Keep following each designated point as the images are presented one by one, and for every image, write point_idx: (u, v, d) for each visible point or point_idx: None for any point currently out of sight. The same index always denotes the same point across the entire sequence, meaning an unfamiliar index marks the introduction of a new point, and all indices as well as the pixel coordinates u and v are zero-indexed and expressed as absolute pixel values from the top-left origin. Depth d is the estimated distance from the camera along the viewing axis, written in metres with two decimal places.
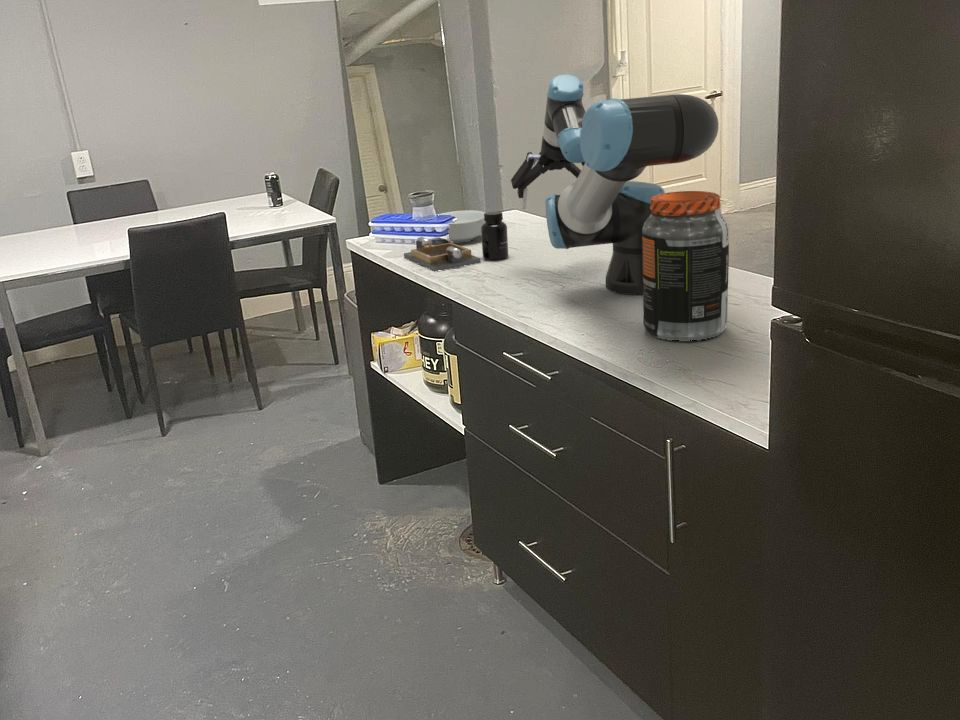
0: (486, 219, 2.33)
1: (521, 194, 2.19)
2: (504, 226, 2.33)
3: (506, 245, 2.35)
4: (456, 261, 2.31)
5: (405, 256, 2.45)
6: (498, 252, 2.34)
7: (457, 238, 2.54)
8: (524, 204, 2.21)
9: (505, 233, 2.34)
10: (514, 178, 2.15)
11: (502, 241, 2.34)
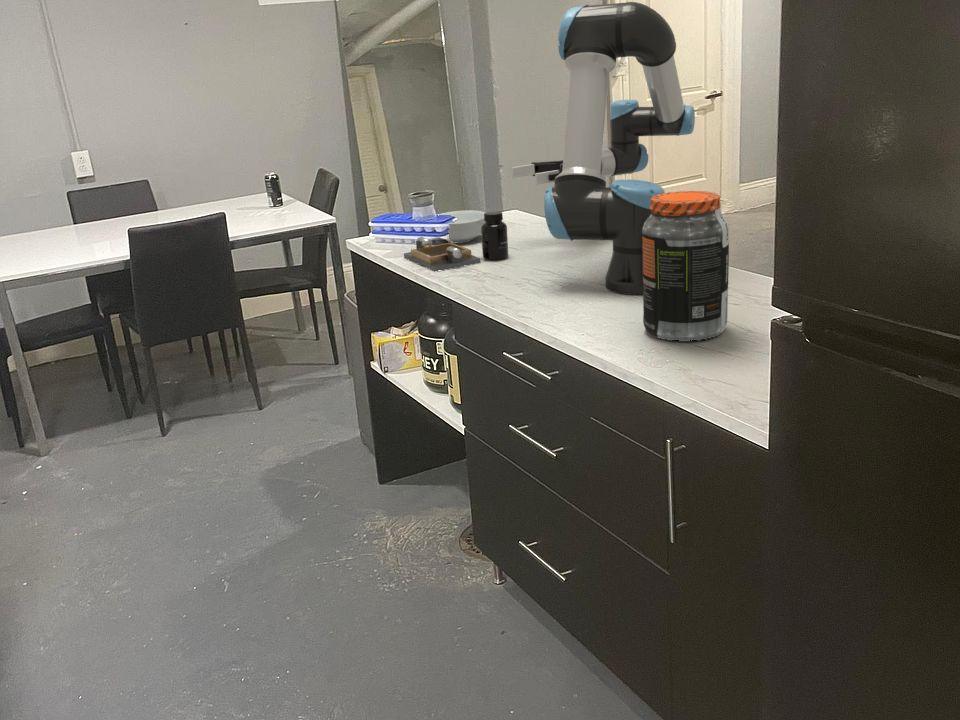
0: (486, 219, 2.33)
1: None
2: (504, 226, 2.33)
3: (506, 245, 2.35)
4: (456, 261, 2.31)
5: (405, 256, 2.45)
6: (498, 252, 2.34)
7: (457, 238, 2.54)
8: (517, 166, 2.40)
9: (505, 233, 2.34)
10: None
11: (502, 241, 2.34)
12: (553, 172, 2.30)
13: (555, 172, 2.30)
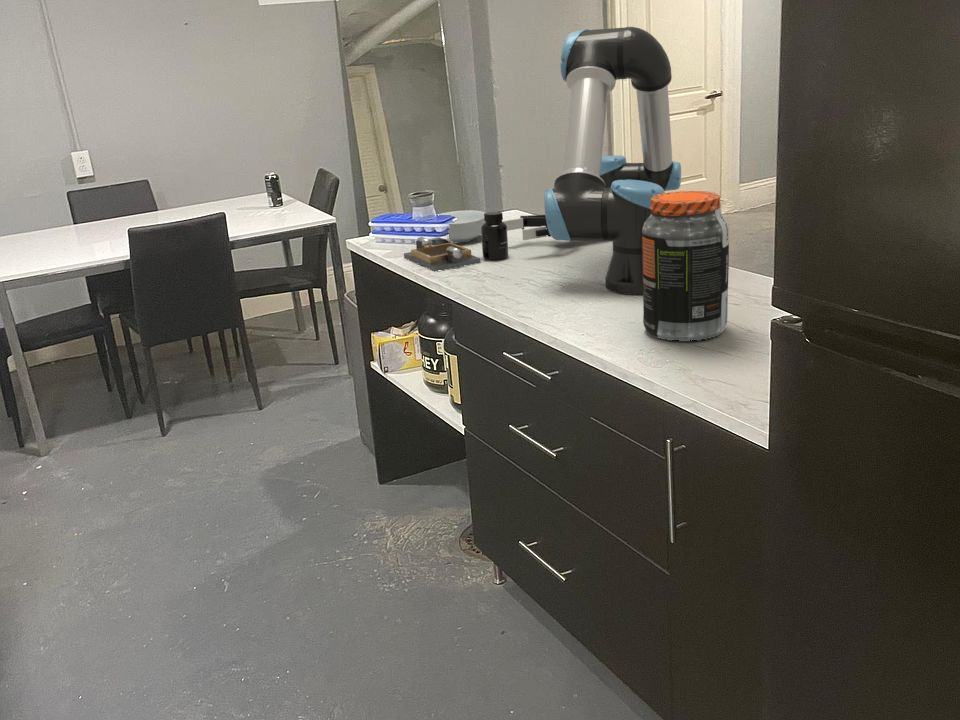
0: (486, 219, 2.33)
1: None
2: (504, 226, 2.33)
3: (506, 245, 2.35)
4: (456, 261, 2.31)
5: (405, 256, 2.45)
6: (498, 252, 2.34)
7: (457, 238, 2.54)
8: (506, 220, 2.44)
9: (505, 233, 2.34)
10: None
11: (502, 241, 2.34)
12: (540, 228, 2.33)
13: (542, 228, 2.34)
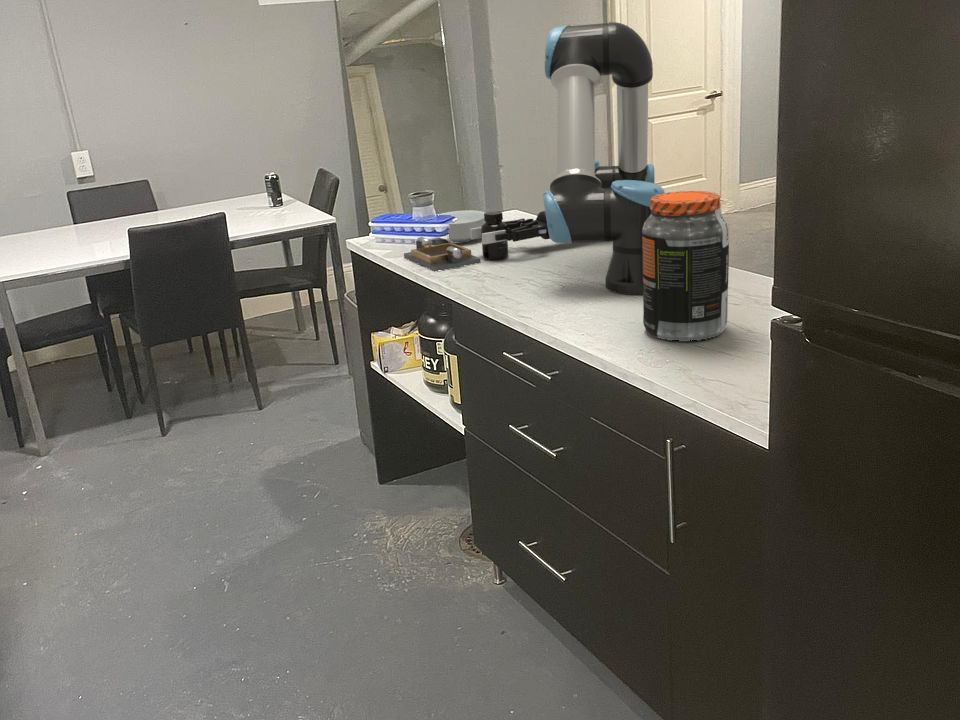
0: (486, 219, 2.33)
1: None
2: (504, 226, 2.33)
3: (506, 245, 2.35)
4: (456, 261, 2.31)
5: (405, 256, 2.45)
6: (498, 251, 2.34)
7: (457, 238, 2.54)
8: (476, 228, 2.37)
9: None
10: None
11: (502, 241, 2.34)
12: (500, 232, 2.32)
13: (502, 232, 2.32)
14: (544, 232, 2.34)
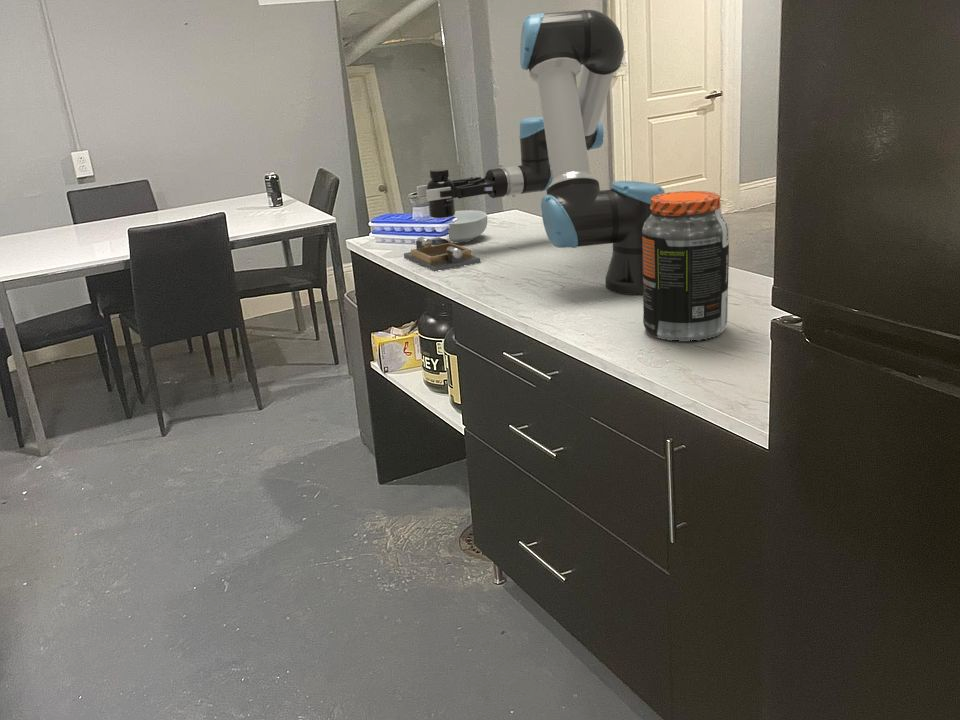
0: (432, 176, 2.32)
1: None
2: (449, 183, 2.32)
3: (452, 202, 2.34)
4: (456, 261, 2.31)
5: (405, 256, 2.45)
6: (443, 209, 2.33)
7: (457, 238, 2.54)
8: (423, 185, 2.36)
9: None
10: None
11: (448, 198, 2.32)
12: (445, 189, 2.31)
13: (447, 189, 2.31)
14: (490, 189, 2.33)
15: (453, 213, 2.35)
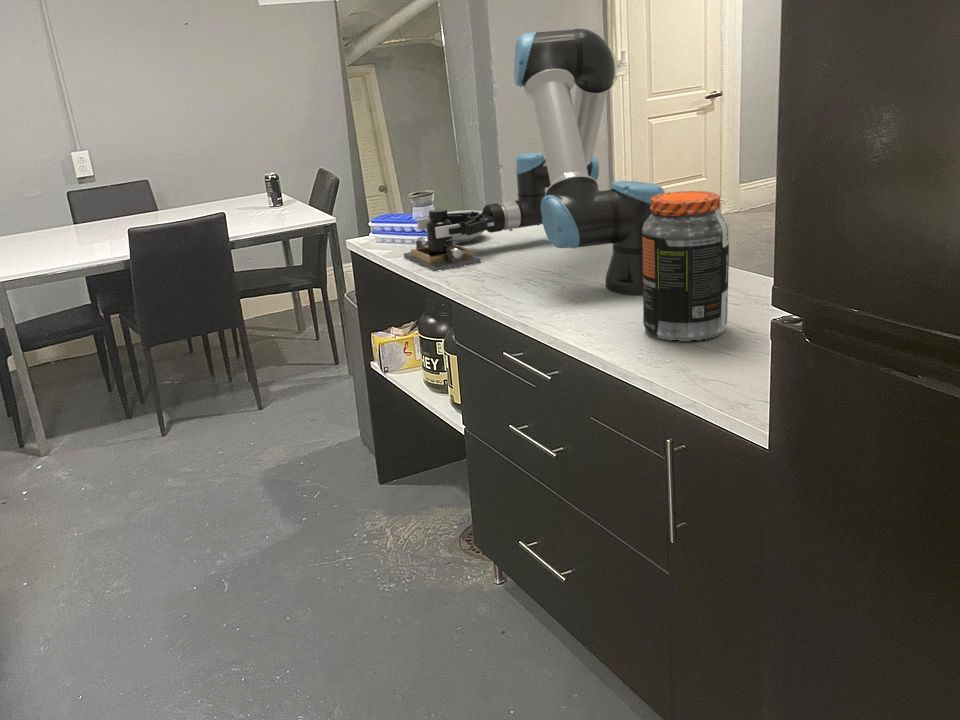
0: (431, 216, 2.35)
1: None
2: (448, 223, 2.35)
3: (451, 242, 2.37)
4: (456, 261, 2.31)
5: (405, 256, 2.45)
6: (442, 249, 2.36)
7: (457, 238, 2.54)
8: (423, 218, 2.42)
9: None
10: None
11: (447, 238, 2.35)
12: (453, 226, 2.31)
13: (455, 226, 2.31)
14: (492, 224, 2.36)
15: None
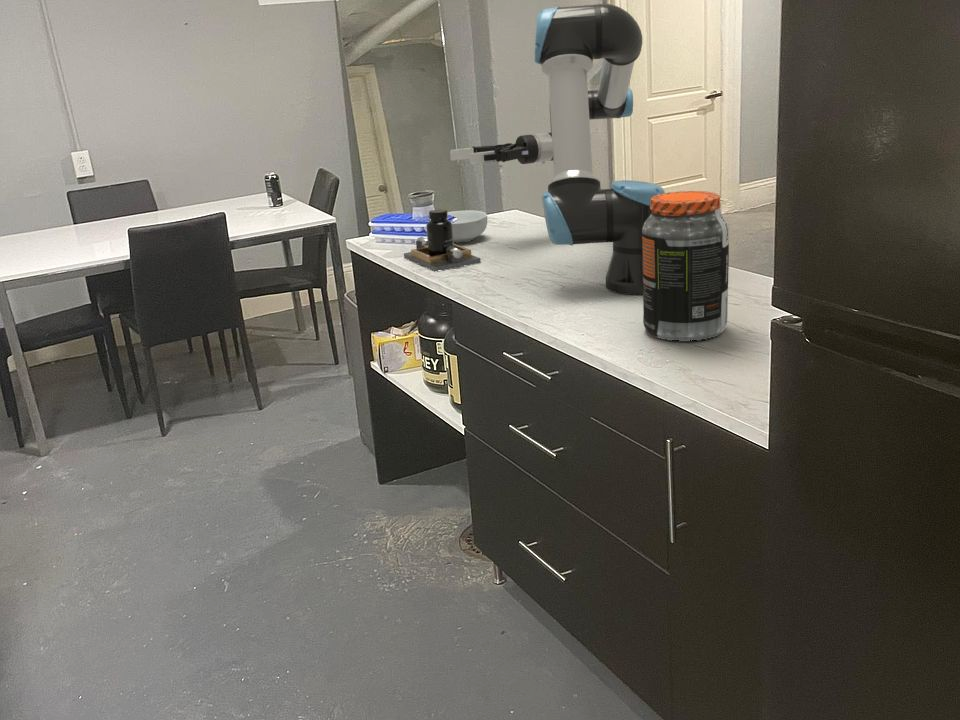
0: (431, 217, 2.35)
1: None
2: (448, 224, 2.35)
3: (451, 243, 2.37)
4: (456, 261, 2.31)
5: (405, 256, 2.45)
6: (442, 249, 2.36)
7: (457, 238, 2.54)
8: (456, 149, 2.41)
9: (450, 231, 2.36)
10: None
11: (447, 239, 2.35)
12: (488, 152, 2.30)
13: (490, 153, 2.30)
14: (527, 153, 2.34)
15: None
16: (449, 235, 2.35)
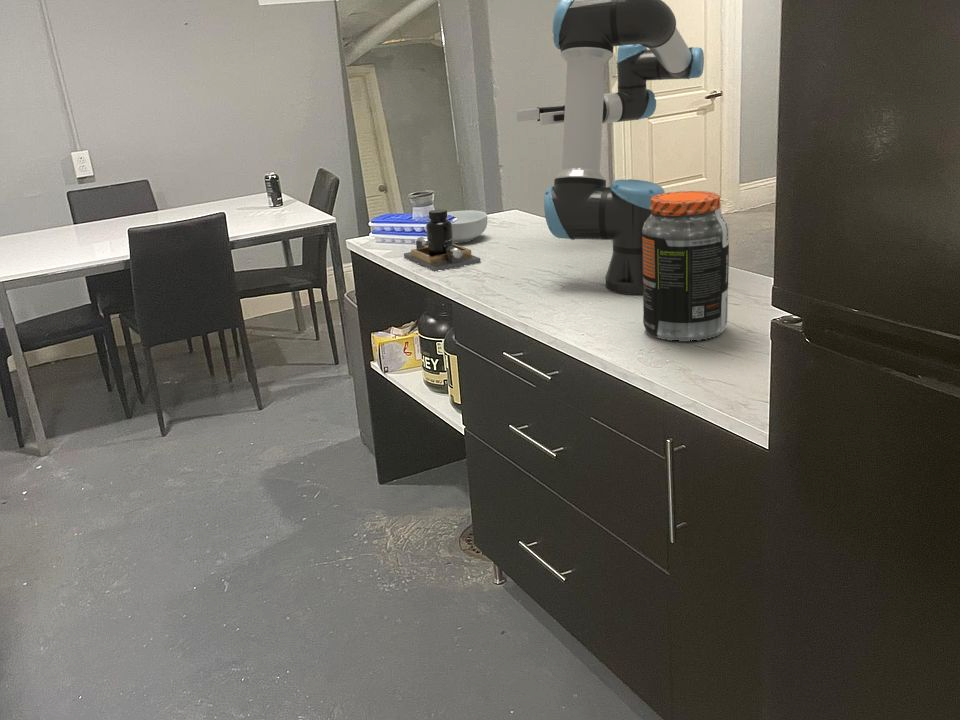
0: (430, 217, 2.35)
1: None
2: (448, 224, 2.35)
3: (451, 243, 2.37)
4: (456, 261, 2.31)
5: (405, 256, 2.45)
6: (442, 249, 2.36)
7: (457, 238, 2.54)
8: (522, 110, 2.34)
9: (450, 231, 2.35)
10: None
11: (447, 239, 2.35)
12: (558, 113, 2.24)
13: (560, 113, 2.24)
14: None
15: None
16: (449, 235, 2.35)
